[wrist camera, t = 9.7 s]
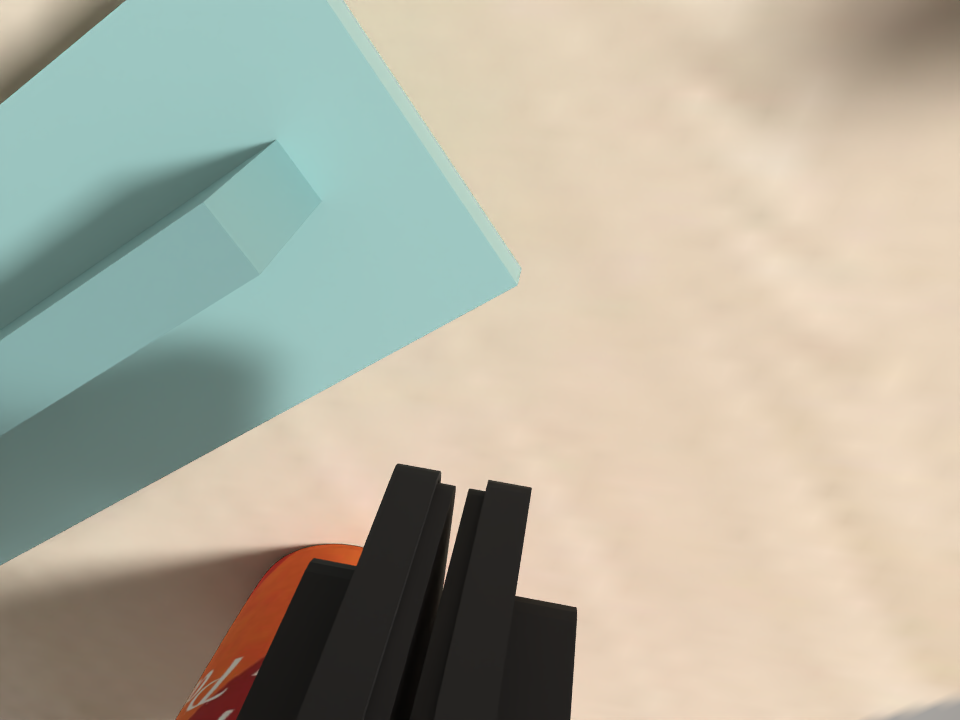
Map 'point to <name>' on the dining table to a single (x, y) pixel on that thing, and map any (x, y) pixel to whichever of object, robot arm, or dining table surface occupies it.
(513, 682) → the robot arm
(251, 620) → the paper cup
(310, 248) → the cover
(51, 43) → the dining table surface
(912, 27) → the dining table surface
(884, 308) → the dining table surface
